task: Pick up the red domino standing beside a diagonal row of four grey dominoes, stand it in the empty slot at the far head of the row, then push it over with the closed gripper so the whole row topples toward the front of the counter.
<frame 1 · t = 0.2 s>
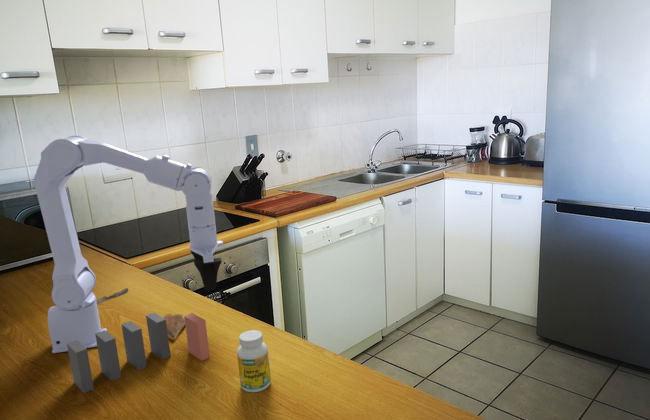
hand: (208, 283, 110), 10 cm above the countertop, tool pointing down, fingers open, 7 cm apart
red domino: (199, 354, 99), on the countertop
grey brown bark strip: (108, 300, 131), on the countertop
shard: (177, 329, 112), on the countertop
domino 3: (137, 363, 97), on the countertop
supplement bottle: (255, 385, 88), on the countertop
domino 2: (160, 353, 100), on the countertop
domino 4: (111, 374, 94), on the countertop
domino 5: (84, 385, 90), on the countertop
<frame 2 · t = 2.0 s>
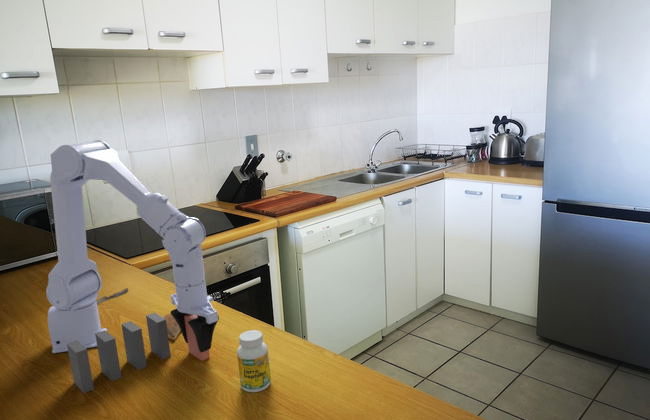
hand: (198, 345, 99), 2 cm above the countertop, tool pointing down, fingers closed on red domino, 5 cm apart
red domino: (199, 354, 99), on the countertop, touching gripper
everything else where it was.
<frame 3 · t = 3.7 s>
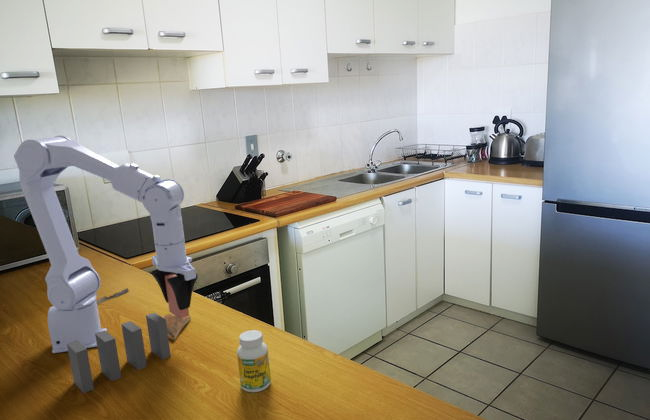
hand: (177, 304, 102), 9 cm above the countertop, tool pointing down, fingers closed on red domino, 5 cm apart
red domino: (179, 313, 102), point 7 cm above the countertop, touching gripper
everything else where it was.
when the fingers open (3 cm above the countertop, at t = 5.6 s): red domino drops 1 cm, on the countertop.
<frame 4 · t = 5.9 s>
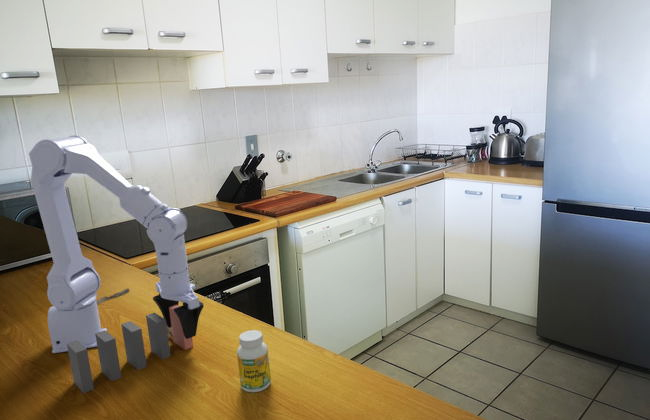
hand: (181, 331, 103), 3 cm above the countertop, tool pointing down, fingers open, 7 cm apart
red domino: (183, 344, 104), on the countertop
everything else where it was.
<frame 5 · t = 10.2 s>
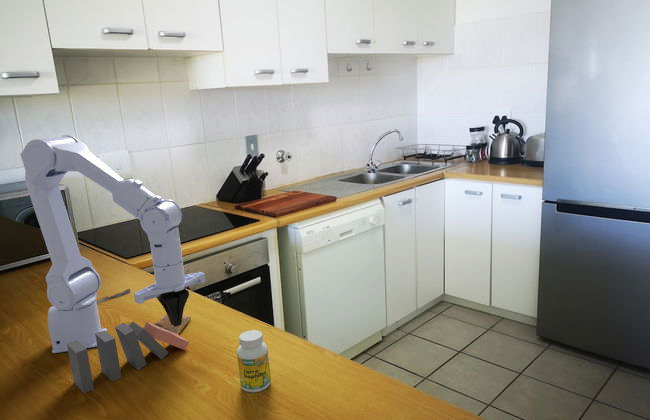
hand: (176, 324, 102), 5 cm above the countertop, tool pointing down, fingers closed
red domino: (181, 342, 103), point 1 cm above the countertop, tilted 49°
domino 3: (136, 363, 97), on the countertop, tilted 9°
domino 2: (159, 352, 100), on the countertop, tilted 32°
everything else where it was.
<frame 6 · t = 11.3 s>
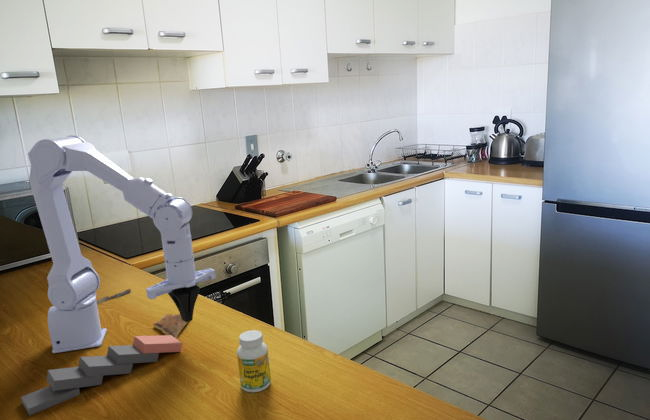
hand: (187, 320, 104), 5 cm above the countertop, tool pointing down, fingers closed
red domino: (176, 343, 103), point 1 cm above the countertop, tilted 70°, touching domino 2
domino 3: (126, 364, 96), point 1 cm above the countertop, tilted 70°, touching domino 2, domino 4
domino 2: (152, 352, 99), point 1 cm above the countertop, tilted 70°, touching domino 3, red domino
domino 4: (98, 374, 92), point 1 cm above the countertop, tilted 73°, touching domino 3
domino 5: (75, 387, 90), on the countertop, tilted 90°
everything else where it was.
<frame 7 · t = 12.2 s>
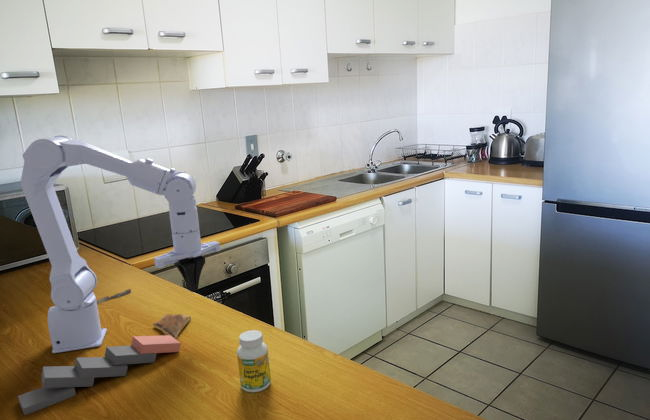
hand: (192, 290, 108), 9 cm above the countertop, tool pointing down, fingers closed
domino 3: (123, 366, 95), point 1 cm above the countertop, tilted 70°, touching domino 2
domino 4: (91, 375, 92), point 1 cm above the countertop, tilted 71°, touching domino 5
domino 5: (72, 387, 89), on the countertop, tilted 90°, touching domino 4
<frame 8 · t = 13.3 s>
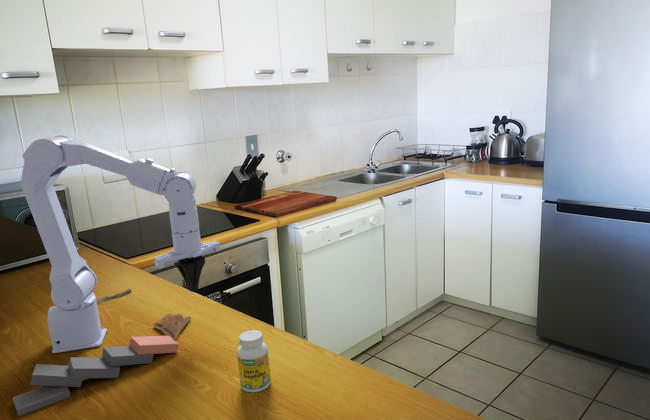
hand: (192, 290, 108), 9 cm above the countertop, tool pointing down, fingers closed
domino 3: (116, 367, 94), point 1 cm above the countertop, tilted 70°, touching domino 4
domino 2: (147, 354, 99), point 1 cm above the countertop, tilted 71°, touching red domino
domino 4: (82, 376, 91), point 1 cm above the countertop, tilted 71°, touching domino 3
domino 5: (66, 389, 89), on the countertop, tilted 90°
everything else where it was.
at the end: domino 5 tilted 90°; red domino tilted 70°; red domino 2.2 cm from the target spot, point 0.8 cm above the countertop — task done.
